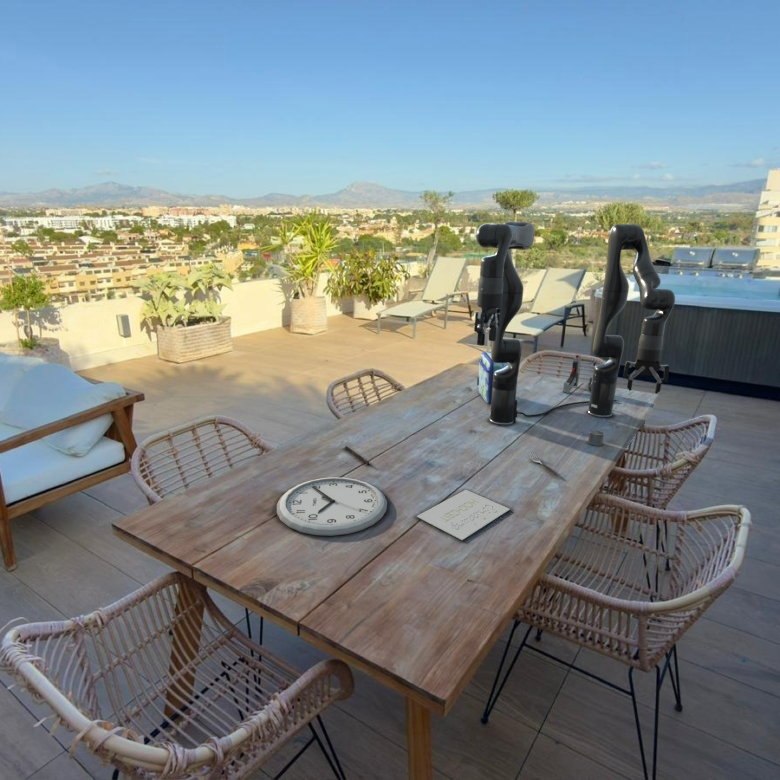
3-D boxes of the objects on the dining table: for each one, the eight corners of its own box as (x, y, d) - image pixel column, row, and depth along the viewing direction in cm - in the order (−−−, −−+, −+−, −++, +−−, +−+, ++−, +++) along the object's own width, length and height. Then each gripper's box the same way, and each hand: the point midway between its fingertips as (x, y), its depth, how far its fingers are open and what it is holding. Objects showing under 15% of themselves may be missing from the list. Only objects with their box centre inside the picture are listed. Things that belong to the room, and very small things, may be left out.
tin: (601, 446, 185) (603, 436, 183) (587, 444, 187) (589, 433, 185) (602, 442, 189) (604, 431, 187) (589, 439, 191) (590, 429, 189)
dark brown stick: (344, 448, 179) (344, 445, 179) (346, 448, 179) (346, 445, 179) (367, 464, 167) (367, 462, 167) (368, 464, 167) (368, 461, 167)
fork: (554, 478, 160) (554, 472, 160) (527, 457, 175) (528, 451, 174) (561, 477, 161) (562, 471, 160) (534, 456, 175) (535, 450, 175)
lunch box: (475, 390, 246) (478, 346, 240) (498, 390, 246) (501, 347, 240) (484, 408, 221) (487, 360, 215) (509, 409, 221) (513, 360, 215)
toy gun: (565, 361, 240) (576, 353, 251) (562, 394, 245) (573, 384, 257) (571, 362, 238) (581, 354, 249) (567, 395, 244) (578, 385, 255)
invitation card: (465, 489, 152) (510, 508, 142) (465, 490, 152) (510, 509, 142) (416, 515, 137) (462, 539, 127) (416, 516, 138) (462, 540, 127)
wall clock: (392, 527, 129) (268, 531, 127) (391, 533, 130) (269, 537, 127) (383, 473, 158) (282, 475, 155) (383, 478, 158) (282, 480, 156)
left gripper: (492, 294, 154) (488, 348, 159) (510, 290, 165) (506, 340, 170) (469, 292, 158) (465, 345, 163) (488, 288, 169) (485, 337, 174)
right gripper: (671, 347, 183) (664, 391, 188) (627, 343, 188) (621, 386, 193) (674, 351, 176) (666, 396, 181) (628, 347, 182) (621, 391, 186)
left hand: (486, 342), depth 166 cm, fingers open, 8 cm apart
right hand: (642, 391), depth 187 cm, fingers open, 8 cm apart
